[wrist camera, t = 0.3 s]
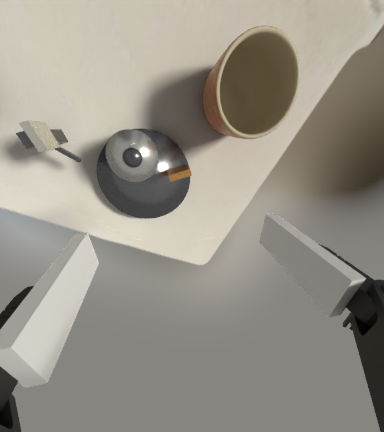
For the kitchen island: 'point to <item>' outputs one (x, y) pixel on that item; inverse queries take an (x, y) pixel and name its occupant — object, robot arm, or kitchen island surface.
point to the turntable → (149, 182)
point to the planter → (253, 84)
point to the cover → (132, 155)
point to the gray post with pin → (43, 138)
